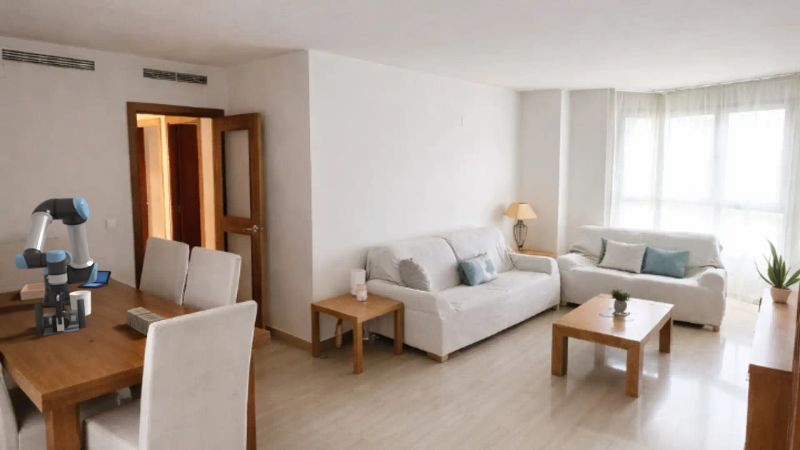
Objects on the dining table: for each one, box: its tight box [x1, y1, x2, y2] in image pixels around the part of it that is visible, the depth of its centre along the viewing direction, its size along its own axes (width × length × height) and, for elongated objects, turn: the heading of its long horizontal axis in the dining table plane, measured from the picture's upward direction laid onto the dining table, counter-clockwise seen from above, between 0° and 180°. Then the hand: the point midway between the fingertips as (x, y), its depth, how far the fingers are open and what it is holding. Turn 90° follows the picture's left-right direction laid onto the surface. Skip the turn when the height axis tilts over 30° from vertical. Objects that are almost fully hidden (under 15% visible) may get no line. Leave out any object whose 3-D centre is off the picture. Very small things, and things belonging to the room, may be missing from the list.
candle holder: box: [69, 290, 92, 317], centre depth 271 cm, size 10×10×12 cm
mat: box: [42, 324, 80, 337], centre depth 246 cm, size 11×14×1 cm
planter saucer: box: [20, 282, 45, 301], centre depth 315 cm, size 21×20×5 cm
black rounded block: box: [52, 312, 70, 332], centre depth 245 cm, size 10×7×7 cm
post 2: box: [77, 299, 87, 329], centre depth 249 cm, size 3×3×14 cm
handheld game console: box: [77, 270, 112, 289], centre depth 336 cm, size 16×13×9 cm
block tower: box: [126, 306, 166, 336], centre depth 248 cm, size 8×8×29 cm
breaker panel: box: [43, 309, 79, 329], centre depth 254 cm, size 8×16×6 cm, turn 119°
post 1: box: [34, 303, 45, 335], centre depth 241 cm, size 3×3×14 cm
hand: (61, 327), depth 246 cm, fingers closed on black rounded block, 10 cm apart
